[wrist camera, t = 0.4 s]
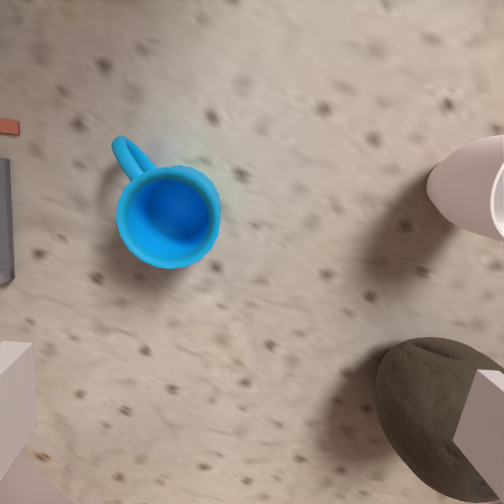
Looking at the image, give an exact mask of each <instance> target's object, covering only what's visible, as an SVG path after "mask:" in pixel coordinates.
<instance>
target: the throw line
mask: <svg viewBox="0 0 504 504" xmlns="http://www.w3.org/2000/svg"><path fill="white" fill-rule="evenodd" d="M0 132H3V133H10V134H17V135H20V128H19V121H14V120H8V119H1V118H0Z"/></svg>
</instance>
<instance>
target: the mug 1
mask: <svg viewBox="0 0 504 504" xmlns="http://www.w3.org/2000/svg"><path fill="white" fill-rule="evenodd" d="M112 149H113V153H114V155H115V157H116V159H117V161H118V163H119V164H120V166H121V167H122V169H123V170H124V172H125V173H126V175H127V176H128V177H129V179H130V180H131V182H130V183H129V184H128V185H127V186H126V187H125V189H124V190H123V192H122V194H121V197H120V199H119V201H118V204H117V213H116V222H117V226H118V230H119V234H120V237H121V238H122V240H123V241H124V243H125V245H126V246H127V248H128V249H129V250H130V251H131V252H132V253H133V254H134V255H135V256H137V257H138V258H139V259H140V260H141V261H144V262H146V263H148V264H150V265H153V266H155V267H160V268H168V269H175V268H181V267H187V266H189V265H191V264H193V263H195V262H197V261H199V260H201V259H202V258H203V257H204V256H205V255H206V254H207V253H208V252H209V251H210V250H211V248H212V246H213V244H214V242H215V240H216V238H217V237H218V232H219V226H220V213H221V205H220V199H219V194H218V192H217V190H216V188H215V186H214V184H213V183H212V182H211V181H210V180H209V179H208V178H207V177H206V176H205V175H204V174H203V173H201V172H199V171H198V170H196V169H194V168H191V167H186V166H180V165H178V166H172V167H165V168H159V169H157V168H156V166H155V165H154V164H153V163H152V162H151V161H150V159H149V158H148V157H147V156H146V155H145V154H144V153H143V152H142V151H141V150H140V149H139V148H138V147H137V146H136V145H135V144H134V143H133V142H132V141H131V140H129V139H128V138H126V137H124V136H119V137H117V138H115V139H114V140H113V142H112ZM142 170H143V171H142Z"/></svg>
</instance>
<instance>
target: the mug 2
mask: <svg viewBox="0 0 504 504" xmlns="http://www.w3.org/2000/svg"><path fill="white" fill-rule="evenodd" d="M426 190H427V195H428V197H429V199H430V200H431V202H432V203H433V204H434V205H435V206H436V208H437V209H438V210H439V211H440V213H441V214H442V215H443V216H444V217H445V218H446V219H447V220H448V221H450V222H451V223H453V224H454V225H456V226H458V227H460V228H462V229H465V230H468V231H470V232H473V233H476V234H479V235H482V236H485V237H489V238H492V239H495V240H498V241H502V242H504V135H498V136H492V137H487V138H483V139H479V140H476V141H473V142H470V143H468V144H466V145H464V146H462V147H460V148H459V149H457V150H456V151H454V152H453V153H452V154H451V155H449V156H448V157H447V158H446V159H444V160H443V161H442V162H441V163H439V164H438V165H437V166H436V167H435V168H434V169H433V170H432V172H431V173H430V175H429V177H428V180H427V185H426Z"/></svg>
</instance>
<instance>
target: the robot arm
mask: <svg viewBox="0 0 504 504" xmlns="http://www.w3.org/2000/svg"><path fill="white" fill-rule="evenodd" d="M37 427H38V425H37V407H36V388H35V370H34V351H33V343H28V342H12V341H2V342H1V343H0V481H1V479H2V478H3V477H4V475H5V474H6V472H7V471H8V469H9V468H10V466H11V465H12V464H13V462H14V461H15V459H16V458H17V456H18V455H19V453H20V452H21V450H22V449H23V447H24V446H25V444H26V443H27V442H28V440H29V439H30V437H31V436H32V434H33V433H34V431H35V430H36V428H37ZM453 442H454V443H455V444H456V445H457V447H458V448H459V449H460V450H461V451H462V453H463V454H464V455H465V456H466V458H467V459H468V460H469V461H470V463H471V464H472V465H473V466H474V468H475V469H476V470H477V471H478V472H479V474H480V475H481V476H482V477H483V479H484V480H485V481H486V482H487V484H488V485H489V486H490V487H491V488H492V490H493V491H494V492H495V493H496V495H497V496H498V497H499V498H500V500H501V501H502V502H503V503H504V374H503V373H501V372H500V371H494V370H477V371H476V374H475V377H474V380H473V383H472V386H471V389H470V391H469V394H468V397H467V400H466V403H465V406H464V409H463V412H462V415H461V418H460V421H459V424H458V427H457V429H456V432H455V435H454V438H453Z"/></svg>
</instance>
